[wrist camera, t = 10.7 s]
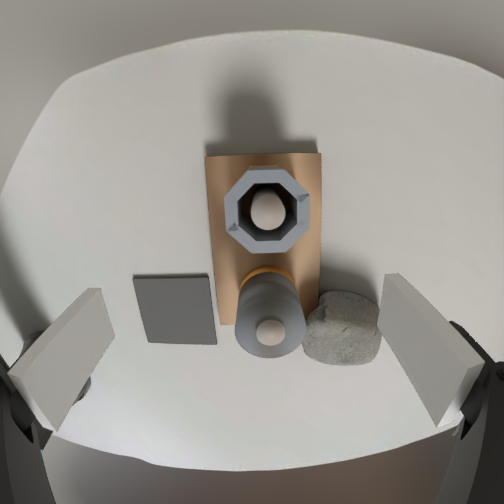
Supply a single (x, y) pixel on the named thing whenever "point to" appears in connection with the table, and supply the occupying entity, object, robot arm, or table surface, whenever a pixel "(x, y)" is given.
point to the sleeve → (241, 220)
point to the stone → (342, 330)
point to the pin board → (265, 255)
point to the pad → (176, 310)
